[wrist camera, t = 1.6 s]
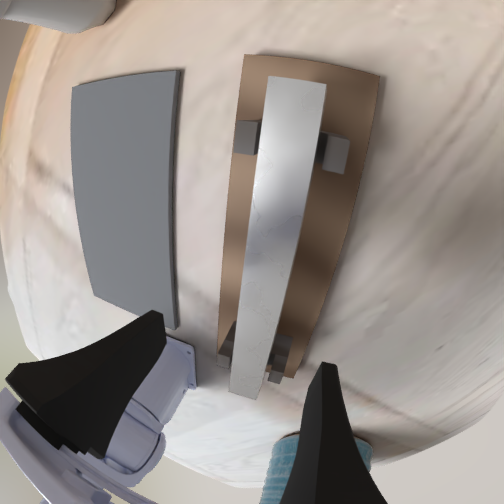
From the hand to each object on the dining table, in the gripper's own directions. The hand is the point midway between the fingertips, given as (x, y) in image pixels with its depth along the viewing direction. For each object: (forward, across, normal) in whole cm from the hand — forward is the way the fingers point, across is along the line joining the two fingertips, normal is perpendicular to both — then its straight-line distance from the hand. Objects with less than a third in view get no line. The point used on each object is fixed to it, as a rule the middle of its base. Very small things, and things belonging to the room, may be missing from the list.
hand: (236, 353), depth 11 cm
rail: (+7, 0, 0) cm, 7 cm away
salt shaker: (+10, +19, -20) cm, 29 cm away
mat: (+10, +15, 0) cm, 18 cm away
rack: (+10, 0, 0) cm, 10 cm away
